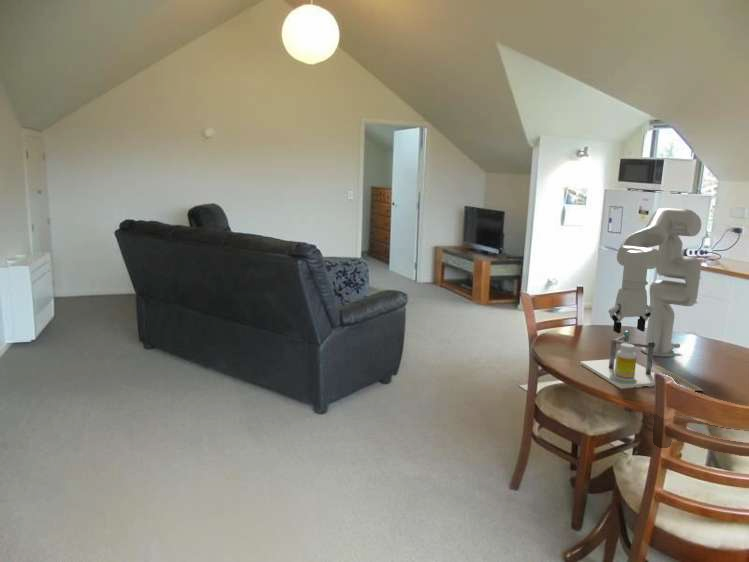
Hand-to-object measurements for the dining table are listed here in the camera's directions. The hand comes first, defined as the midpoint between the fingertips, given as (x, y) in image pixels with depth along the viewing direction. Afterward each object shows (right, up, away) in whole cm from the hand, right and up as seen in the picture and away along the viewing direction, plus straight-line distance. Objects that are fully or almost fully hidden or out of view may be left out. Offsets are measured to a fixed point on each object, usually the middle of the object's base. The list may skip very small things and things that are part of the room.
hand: (628, 331), depth 189 cm
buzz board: (+4, -18, +12) cm, 22 cm away
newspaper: (+20, -20, +7) cm, 29 cm away
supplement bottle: (0, -18, +3) cm, 18 cm away
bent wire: (+5, -16, +15) cm, 22 cm away
